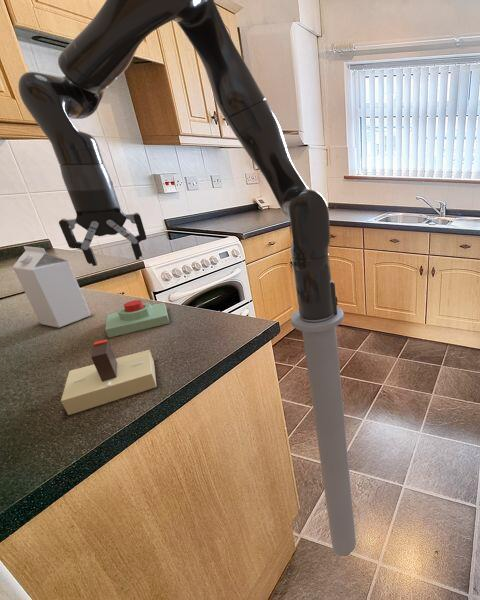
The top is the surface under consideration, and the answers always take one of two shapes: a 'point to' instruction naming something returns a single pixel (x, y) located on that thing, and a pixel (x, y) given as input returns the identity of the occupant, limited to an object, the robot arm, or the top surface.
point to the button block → (136, 319)
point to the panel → (108, 383)
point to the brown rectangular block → (104, 360)
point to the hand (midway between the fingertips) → (117, 261)
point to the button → (133, 306)
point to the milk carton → (50, 287)
